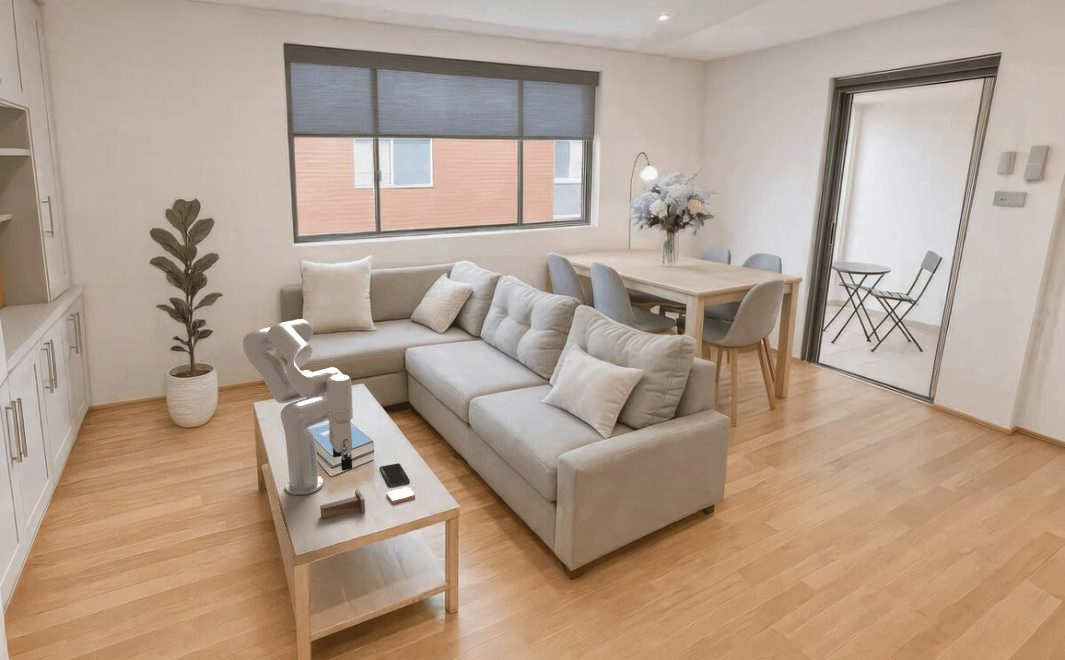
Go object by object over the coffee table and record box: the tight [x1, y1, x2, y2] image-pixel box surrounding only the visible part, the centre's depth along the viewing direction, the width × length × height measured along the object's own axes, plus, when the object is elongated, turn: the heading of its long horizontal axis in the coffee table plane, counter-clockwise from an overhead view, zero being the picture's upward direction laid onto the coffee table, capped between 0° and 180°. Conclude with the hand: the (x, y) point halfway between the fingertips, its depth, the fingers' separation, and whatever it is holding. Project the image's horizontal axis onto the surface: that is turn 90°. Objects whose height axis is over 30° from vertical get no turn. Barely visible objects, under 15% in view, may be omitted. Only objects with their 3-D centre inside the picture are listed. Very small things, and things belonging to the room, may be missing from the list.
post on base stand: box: [319, 489, 366, 521], centre depth 204 cm, size 7×13×5 cm, turn 122°
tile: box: [386, 486, 416, 505], centre depth 215 cm, size 6×2×8 cm
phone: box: [379, 463, 411, 488], centre depth 229 cm, size 8×1×15 cm
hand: (342, 462), depth 201 cm, fingers open, 9 cm apart
